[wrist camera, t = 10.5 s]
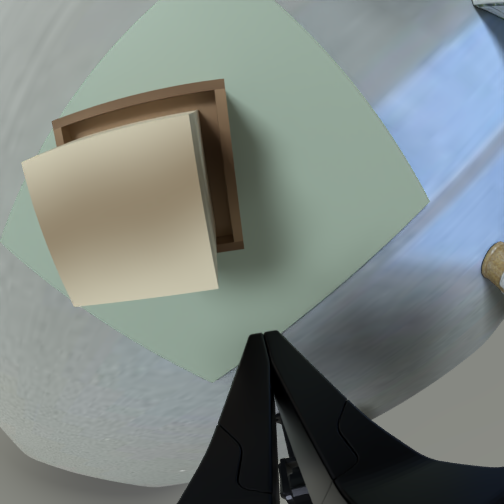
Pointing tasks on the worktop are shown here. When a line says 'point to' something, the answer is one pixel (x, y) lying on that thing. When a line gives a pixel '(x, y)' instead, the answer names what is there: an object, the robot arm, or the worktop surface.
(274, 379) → the robot arm
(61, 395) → the worktop surface
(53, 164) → the ash block
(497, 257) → the sprinkles bottle
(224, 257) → the board
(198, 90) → the walnut socket block
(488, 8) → the syrup box
